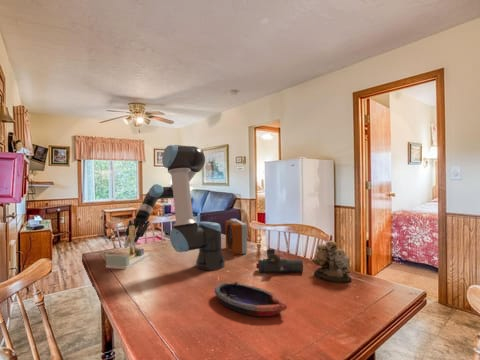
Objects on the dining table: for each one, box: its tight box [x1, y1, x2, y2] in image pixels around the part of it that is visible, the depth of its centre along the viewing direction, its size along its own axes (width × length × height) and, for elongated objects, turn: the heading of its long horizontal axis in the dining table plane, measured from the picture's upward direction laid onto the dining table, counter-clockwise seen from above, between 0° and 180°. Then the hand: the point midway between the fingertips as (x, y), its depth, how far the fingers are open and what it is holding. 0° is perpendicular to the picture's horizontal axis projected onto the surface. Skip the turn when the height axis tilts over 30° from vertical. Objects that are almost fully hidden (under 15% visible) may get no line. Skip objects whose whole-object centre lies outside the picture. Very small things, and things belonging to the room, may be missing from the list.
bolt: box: [127, 225, 139, 260], centre depth 156 cm, size 12×3×18 cm, turn 168°
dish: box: [214, 281, 288, 317], centre depth 100 cm, size 16×31×5 cm, turn 50°
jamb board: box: [105, 247, 150, 270], centre depth 153 cm, size 22×12×6 cm, turn 168°
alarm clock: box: [225, 218, 248, 256], centre depth 172 cm, size 18×9×21 cm, turn 17°
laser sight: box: [255, 248, 304, 274], centre depth 135 cm, size 10×22×10 cm, turn 89°
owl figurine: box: [311, 240, 352, 284], centre depth 127 cm, size 18×12×17 cm, turn 53°
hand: (128, 246), depth 152 cm, fingers closed on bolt, 3 cm apart
